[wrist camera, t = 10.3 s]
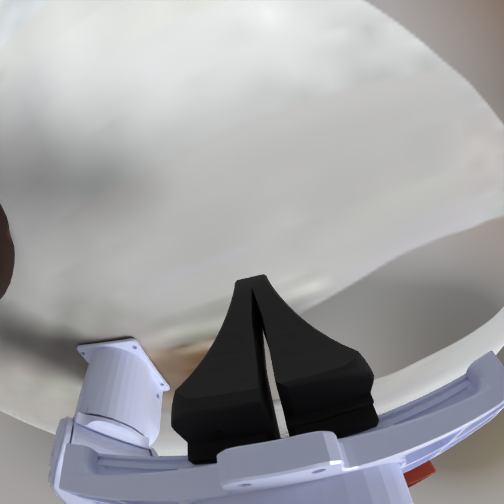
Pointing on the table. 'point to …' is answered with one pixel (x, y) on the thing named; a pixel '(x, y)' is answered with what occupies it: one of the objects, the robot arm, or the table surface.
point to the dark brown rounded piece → (5, 254)
